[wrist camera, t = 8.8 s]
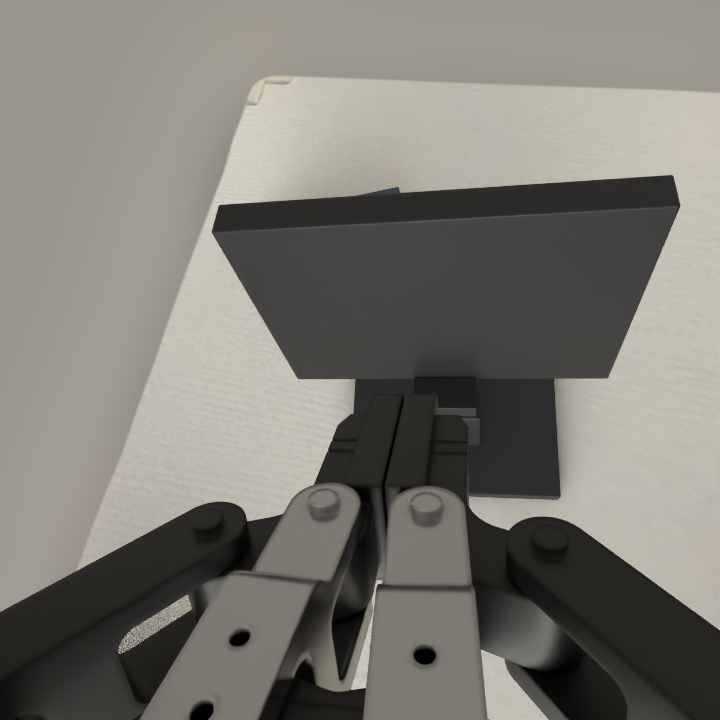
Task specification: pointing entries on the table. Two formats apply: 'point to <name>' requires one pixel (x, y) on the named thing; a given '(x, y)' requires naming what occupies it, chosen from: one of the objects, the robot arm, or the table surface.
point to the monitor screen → (453, 280)
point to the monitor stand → (500, 435)
